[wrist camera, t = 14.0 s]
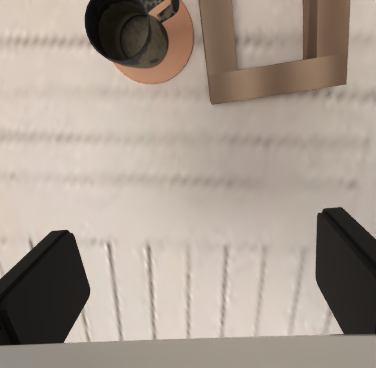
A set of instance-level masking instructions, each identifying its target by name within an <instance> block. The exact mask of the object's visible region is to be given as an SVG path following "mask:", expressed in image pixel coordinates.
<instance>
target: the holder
mask: <svg viewBox="0 0 376 368" xmlns="http://www.w3.org/2000/svg"><path fill="white" fill-rule="evenodd" d="M199 7H200V16H201V24H202V33H203V41H204V50H205V58H206V67H207V76H208V84H209V93H210V101H211V104H212V105H213V104H219V103H226V102H233V101H239V100H246V99H252V98H259V97H266V96H272V95H279V94H285V93H292V92H299V91H305V90H312V89H318V88H325V87H332V86H338V85H345V84H346V79H347V59H348V38H349V18H350V0H303V60H300V61H293V62H287V63H281V64H275V65H269V66H262V67H256V68H250V69H244V70H238V71H237V61H236V49H235V36H234V24H233V12H232V0H199Z"/></svg>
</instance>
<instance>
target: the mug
mask: <svg viewBox="0 0 376 368" xmlns="http://www.w3.org/2000/svg"><path fill="white" fill-rule="evenodd" d="M163 1H165V0H90V2H89V4H88V5H87V9H86V13H85V28H86V33H87V36H88V38H89V40H90V42H91V44H92V45H93V47H94V48H95V49H96V51H98V52H99V53H100V54H101V55H103V56H104V57H105V58H107V59H108V60H110V61H112V62H114V63H117V64H120V65H122V66H126V67H132V68H139V69H140V68H144V69H147V68H153V67H155V66H157V65H158V64H160V63H161V62H162V61H163V59H164V58H165V56H166V54H167V51H168V47H169V39H168V34H167V31H166V28H165V27H164V26H163V24H162V23H163V22H165V21H166V20H168V19H169V18H171V17H173V16H174V15H175V14H176V13H177V12H178V10H179V5H180V3H179V0H171V3H170V4H169V5H168V6H167V8H165V9H164V10H163V11H161V12H160V13H159V14H157V17H158V18H159V20H160V21H159V20H158V19H157V18H156V17H154V16H152V15H150V14H148V13H149V12H150V11H151V10H152V9H153V8H155V7H156V6H157V5H159V4H160V3H162V2H163Z"/></svg>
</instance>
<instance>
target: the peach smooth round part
mask: <svg viewBox="0 0 376 368" xmlns="http://www.w3.org/2000/svg"><path fill="white" fill-rule="evenodd" d="M170 3H171V0H165V1H163V2H162V3H160V4H159V5H157V6H156V7H155V8H153V9H152V10H151V11H150V12H149V13H148V14H150V15H152V16H154V17H156V18H157V19H158V20H159V18H158V17H157V14H159V13H160V12H161V11H163V10H164V9H165V8H167V6H168V5H169V4H170ZM179 3H180V5H179V10H178V12H177V13H176V14H175V15H174V16H173V17H171V18H169V19H168V20H166V21H165V22H163V23H162V24H163V26H164V27H165V28H166V31H167V34H168V39H169V47H168V51H167V54H166V56H165V58H164V59H163V61H162V62H161V63H160V64H158V65H157V66H155V67H153V68H147V69H144V68H140V69H139V68H132V67H126V66H122V65H120V64H117V63H114V62H113V63H114V64H115V65H116V67H117V68H118V69H119V70H120V71H121V72H122V73H123V74H124V75H126V76H127V77H129V78H130V79H132V80H134V81H137V82H140V83H145V84H157V83H161V82H165V81H167V80H169V79H171V78H173V77H174V76H175V75H177V74H178V73H179V72H180V71H181V70H182V69H183V67H184V66H185V65H186V63H187V61H188V59H189V57H190V54H191V51H192V47H193V26H192V21H191V18H190V15H189V13H188V11H187V9H186V7H185V5H184V4H183V2H182V1H181V0H179ZM159 21H160V20H159Z"/></svg>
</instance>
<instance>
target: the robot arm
mask: <svg viewBox="0 0 376 368" xmlns="http://www.w3.org/2000/svg"><path fill="white" fill-rule="evenodd" d="M316 281H317V284H318V286H319V288H320V290H321V292H322V294H323V296H324V298H325V300H326V301H327V303H328V305H329V307H330V309H331V311H332V313H333V314H334V316H335V318H336V320H337V322H338V324H339V326H340V328H341V329H342V331H343V333H344V334H328V335H293V336H258V337H226V338H197V339H167V340H138V341H110V342H80V343H64V341H65V339H66V337H67V336H68V334H69V332H70V330H71V328H72V327H73V325H74V323H75V321H76V320H77V318H78V316H79V314H80V312H81V311H82V309H83V307H84V305H85V304H86V302H87V300H88V298H89V296H90V286H89V283H88V280H87V276H86V273H85V270H84V266H83V263H82V260H81V257H80V253H79V250H78V247H77V243H76V240H75V237H74V235H73V234H72V233H70V232H69V231H68V230H59V231H52V232H50V233H49V234H48V235H47V236H46V237H45V238H44V239H43V240H42V241H41V242H39V243H38V244H37V245H36V246H35V247H34V248H33V249H32V250H31V251H30V252H29V253H28V254H27V255H26V256H25V257H23V258H22V259H21V260H20V261H19V262H18V263H17V264H16V265H15V266H14V267H13V268H12V269H11V270H10V271H9V272H7V273H6V274H5V275H4V276H3V277H2V278H1V279H0V368H376V239H375V238H374V237H373V236H372V235H371V234H370V233H369V232H367V231H366V230H365V229H364V228H363V227H362V226H361V225H360V224H359V223H358V222H357V221H356V220H355V219H354V218H353V217H351V216H350V215H349V214H348V213H347V212H346V211H345V210H344V209H343V208H341V207H338V208H326V209H323V211H322V213H318V215H317V241H316Z"/></svg>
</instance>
